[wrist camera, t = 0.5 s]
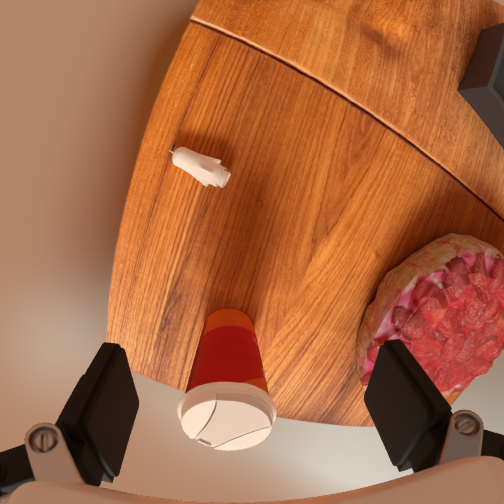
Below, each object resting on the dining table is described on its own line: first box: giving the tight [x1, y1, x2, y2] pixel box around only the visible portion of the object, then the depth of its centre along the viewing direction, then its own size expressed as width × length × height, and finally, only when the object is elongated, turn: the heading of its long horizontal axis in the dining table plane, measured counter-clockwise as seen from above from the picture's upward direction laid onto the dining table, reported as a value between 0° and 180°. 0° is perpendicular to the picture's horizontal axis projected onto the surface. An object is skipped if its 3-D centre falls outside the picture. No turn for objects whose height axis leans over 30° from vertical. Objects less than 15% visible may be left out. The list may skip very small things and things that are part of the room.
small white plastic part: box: [170, 147, 231, 188], centre depth 25 cm, size 4×6×3 cm, turn 37°
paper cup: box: [177, 308, 277, 450], centre depth 26 cm, size 8×8×14 cm
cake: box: [356, 233, 504, 400], centre depth 31 cm, size 25×25×8 cm
